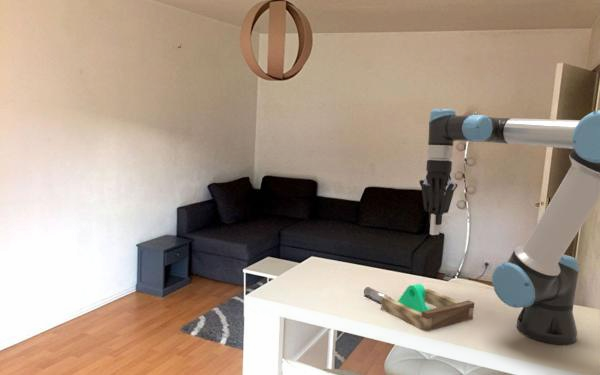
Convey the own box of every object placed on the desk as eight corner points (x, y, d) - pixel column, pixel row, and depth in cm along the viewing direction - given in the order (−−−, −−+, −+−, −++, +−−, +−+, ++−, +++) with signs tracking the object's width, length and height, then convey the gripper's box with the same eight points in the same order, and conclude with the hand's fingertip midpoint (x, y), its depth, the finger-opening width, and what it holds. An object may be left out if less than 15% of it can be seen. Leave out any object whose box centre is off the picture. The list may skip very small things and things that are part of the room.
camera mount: (443, 323, 138) (447, 288, 137) (425, 327, 134) (428, 292, 133) (412, 308, 148) (415, 276, 147) (394, 312, 144) (397, 279, 143)
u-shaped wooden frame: (472, 318, 142) (474, 302, 142) (425, 331, 131) (427, 313, 131) (426, 298, 157) (427, 284, 156) (380, 308, 146) (382, 292, 146)
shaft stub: (386, 295, 148) (383, 305, 148) (393, 298, 150) (389, 307, 150) (365, 285, 157) (362, 294, 156) (371, 288, 158) (368, 296, 158)
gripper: (464, 160, 146) (459, 237, 148) (430, 158, 156) (425, 229, 158) (449, 160, 141) (443, 239, 144) (415, 158, 152) (410, 231, 154)
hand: (434, 234), depth 151 cm, fingers closed
